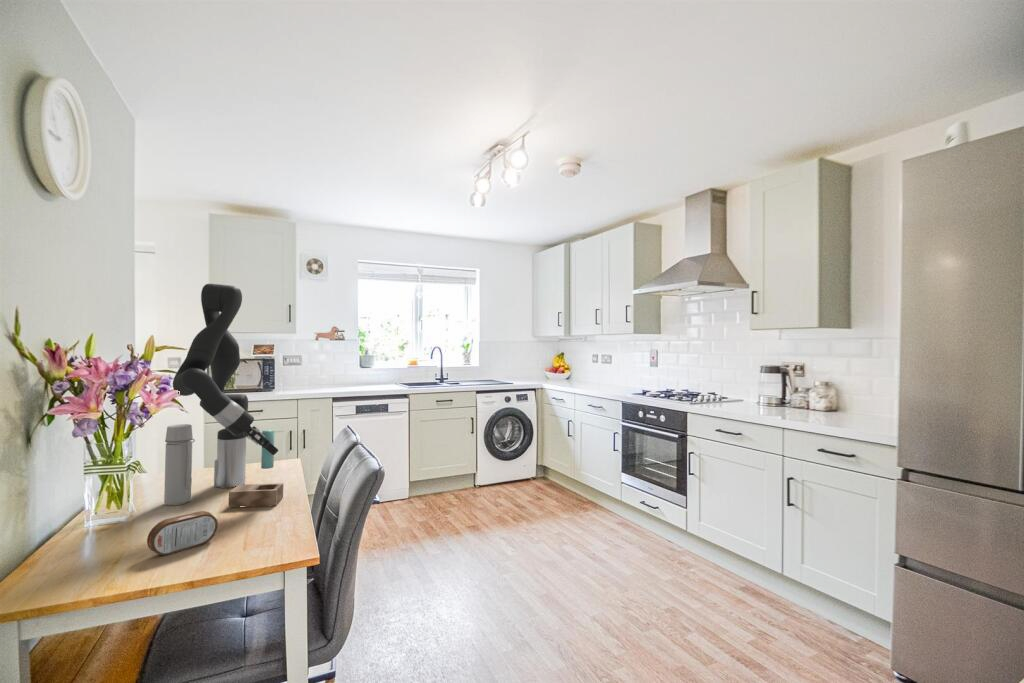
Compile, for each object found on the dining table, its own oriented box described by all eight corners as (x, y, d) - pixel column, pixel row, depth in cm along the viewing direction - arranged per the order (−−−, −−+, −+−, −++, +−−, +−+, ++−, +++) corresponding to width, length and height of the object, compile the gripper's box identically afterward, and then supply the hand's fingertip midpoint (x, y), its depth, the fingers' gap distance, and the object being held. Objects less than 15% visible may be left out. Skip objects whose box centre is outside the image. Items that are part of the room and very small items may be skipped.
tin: (213, 538, 127) (214, 506, 127) (219, 541, 126) (219, 509, 126) (146, 557, 115) (146, 522, 115) (150, 561, 113) (151, 525, 113)
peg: (259, 468, 154) (260, 431, 155) (263, 466, 158) (264, 430, 158) (271, 468, 155) (272, 431, 155) (274, 466, 159) (275, 429, 159)
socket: (228, 507, 151) (228, 492, 151) (238, 499, 158) (238, 484, 159) (276, 505, 153) (276, 490, 153) (283, 498, 161) (283, 483, 161)
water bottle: (157, 505, 152) (159, 426, 152) (181, 497, 159) (183, 423, 160) (177, 508, 149) (180, 428, 149) (201, 501, 157) (203, 425, 157)
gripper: (247, 411, 147) (289, 446, 154) (239, 406, 158) (278, 439, 165) (227, 429, 143) (270, 464, 151) (220, 423, 154) (260, 456, 162)
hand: (274, 451), depth 158 cm, fingers closed on peg, 3 cm apart
